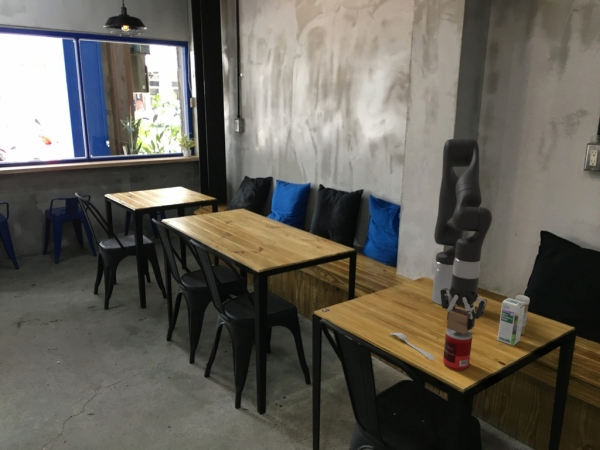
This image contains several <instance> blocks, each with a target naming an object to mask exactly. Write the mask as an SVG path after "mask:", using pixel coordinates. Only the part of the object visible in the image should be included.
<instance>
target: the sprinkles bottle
mask: <svg viewBox="0 0 600 450" xmlns="http://www.w3.org/2000/svg"><path fill="white" fill-rule="evenodd" d="M514 299H515V300H518V301H522V302H525V308H524V315H523V322H522V328H521V335H524V334H525V329H526V324H527V318H528V317H527V316H528V313H529V312H528V309H529V304H530V302H531V301H530V300H531V299H530V297H528V296H526V295H523V294H519V295H515V298H514Z"/></svg>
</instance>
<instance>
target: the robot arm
mask: <svg viewBox="0 0 600 450" xmlns="http://www.w3.org/2000/svg"><path fill="white" fill-rule="evenodd" d="M442 151H443V152H442V172H441V174H442V175H441V183H440V189H439V194H438V195H439V196H438V209H437V210H438V211H437V218H436V223H435V228H434V235H433V237H434V241H435V242H434V243H436V244H437V245H440V246H447V247H449V246H451V248H449V249H447V250H444V251H439V252H438V253H436V254H435V255H436V256H435V265H434V276H433V286H432V295H431V296H432V297H431V300H432V302H433V303H435V304H437V305H440V306H441V308H442V309H443V310H444V309H445V310H446V311H447V316H446V320H447V322H448V314H449V311H450V310H452V309H454V308H455V307H457V306H460V307H462V308H464V309H466V311H467V313H468V315H469V319H468V327H467V330H470V331H471V330H472V329H473V328H474V327H475V323H476V322H475V321H476V320H478V319H480V318H481V317H483V314H484V312H485V308H487V307H486V306H487V305H488V300H487V299H486V298H481V297H479V295H478V289H479V281H480V273H481V272H480V271H481V256H482V249H483V244H484V241H485V238H486V236H487V234H488V232H489V229H490V228H491V225H492V220H493V215H492V212H491V210H490V209H489V208H487V207H482V206H481V205H482V198H483V197H482V191H481V186H480V147H479V143H478V141H477V140H476V139H475V138H452V139H447V140H446V141H445V142H444V146H443V150H442ZM454 167H455V168H456V167H457V168H458V167H459V168H462V167H463V168H465V167H467V169H466V170H465V171H464V172H463V173H462V174H461V176H458V175H457V174H456V172H455V170H454ZM451 219H452V220H451ZM450 220H451V221H452V222H449V221H450ZM464 232H474V233H473V234H472V235H470V236H466V237H464ZM475 302H477V303H476V304H477V306H478V307H477V308H475V307H476V306H475ZM475 309H477V310H475Z"/></svg>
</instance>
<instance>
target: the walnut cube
mask: <svg viewBox="0 0 600 450" xmlns="http://www.w3.org/2000/svg"><path fill="white" fill-rule="evenodd" d="M447 315H448V321H447V327H446V329H447V328H448V329H450V330H453V331H456V332H459V333H462V334H465V333H467V332H468V331H469V330H467V327H468V319H469V315H468V313H467V311H466V308H465V307H462V306H456V307H455V308H454V309H452V310H450V311H449V314H448V313H447Z"/></svg>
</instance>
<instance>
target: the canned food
mask: <svg viewBox="0 0 600 450" xmlns="http://www.w3.org/2000/svg"><path fill="white" fill-rule="evenodd" d="M472 342H473V332H472V331H471V330H469V331H468V332H467V333H465V334H462V333H459V332H456V331H453V330H450V329H448V328H447V327H446V331H445V339H444V347H443V348H444V349H443V355H442V362H443V364H444V366H445V367H447V368H448V369H450V370H453V371H464V370H467V369H468V368H469V366H470V359H471V352H472V351H471V350H472Z"/></svg>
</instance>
